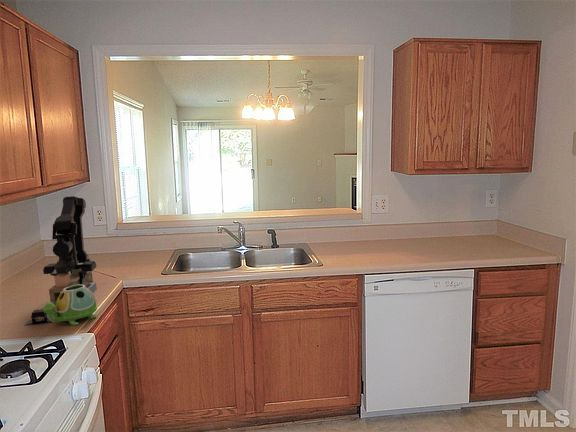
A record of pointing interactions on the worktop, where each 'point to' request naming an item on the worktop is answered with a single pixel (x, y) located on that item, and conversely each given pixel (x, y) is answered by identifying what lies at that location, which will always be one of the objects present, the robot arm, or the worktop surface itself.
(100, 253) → the worktop surface
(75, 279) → the pallet
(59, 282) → the salmon brown cube
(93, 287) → the dock
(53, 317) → the turtle holder
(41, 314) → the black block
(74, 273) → the block
